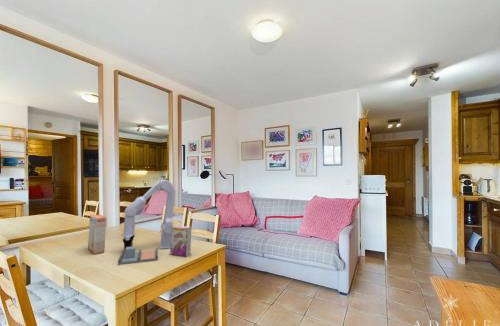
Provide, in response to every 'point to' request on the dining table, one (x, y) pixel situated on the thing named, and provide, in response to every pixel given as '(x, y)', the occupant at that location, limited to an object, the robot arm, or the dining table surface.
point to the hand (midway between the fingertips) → (128, 249)
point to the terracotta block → (131, 246)
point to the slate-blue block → (130, 252)
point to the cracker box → (97, 234)
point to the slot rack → (139, 257)
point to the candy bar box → (180, 241)
